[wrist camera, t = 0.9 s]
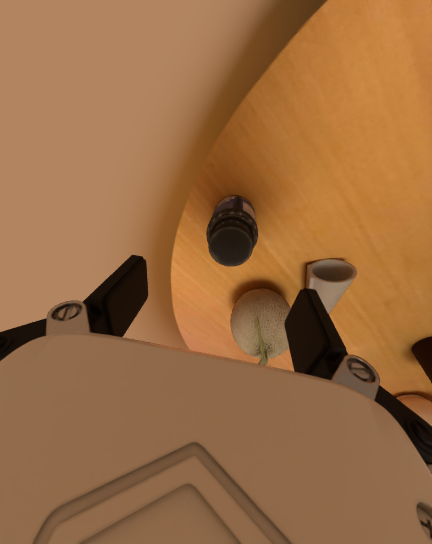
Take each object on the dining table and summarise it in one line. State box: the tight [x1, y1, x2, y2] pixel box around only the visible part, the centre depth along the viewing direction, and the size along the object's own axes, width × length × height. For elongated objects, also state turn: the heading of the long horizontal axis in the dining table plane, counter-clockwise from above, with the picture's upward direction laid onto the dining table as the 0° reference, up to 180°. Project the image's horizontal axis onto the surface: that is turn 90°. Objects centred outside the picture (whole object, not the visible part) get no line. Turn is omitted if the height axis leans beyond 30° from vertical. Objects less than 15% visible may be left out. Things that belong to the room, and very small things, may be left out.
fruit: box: [230, 289, 291, 365], centre depth 31 cm, size 10×12×15 cm
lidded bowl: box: [396, 395, 432, 426], centre depth 46 cm, size 13×13×11 cm
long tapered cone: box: [306, 259, 357, 314], centre depth 35 cm, size 6×6×19 cm
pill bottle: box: [206, 195, 258, 266], centre depth 25 cm, size 6×6×11 cm
